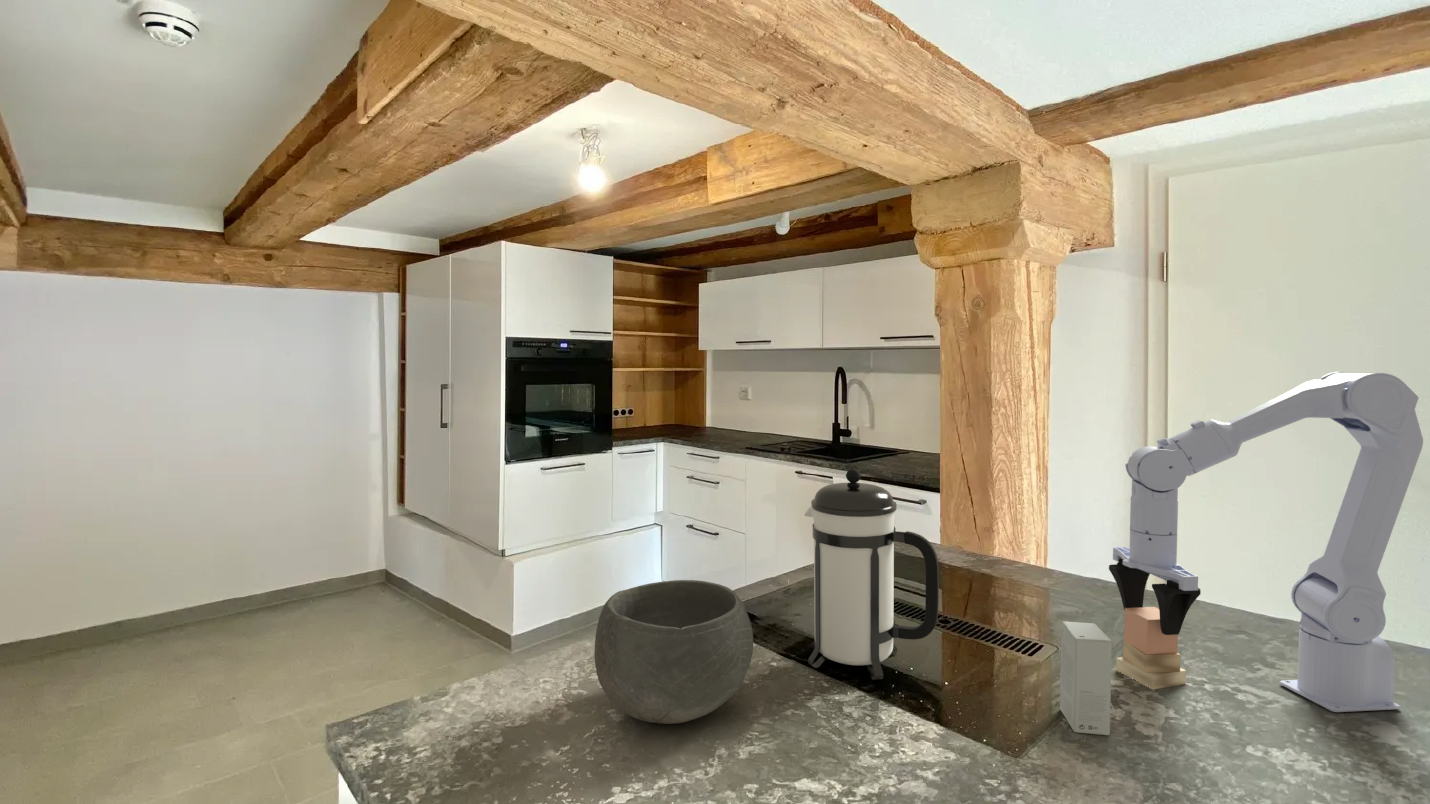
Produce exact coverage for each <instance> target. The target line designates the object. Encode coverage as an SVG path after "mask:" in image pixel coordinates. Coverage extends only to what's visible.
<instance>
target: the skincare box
mask: <svg viewBox="0 0 1430 804" xmlns="http://www.w3.org/2000/svg"><path fill="white" fill-rule="evenodd" d="M1060 643H1061V645H1060V646H1061V648H1060V649H1061V650H1060V651H1061V652H1060V689H1059V690H1060V691H1059V692H1060V695H1059V696H1060V697H1059V709H1060V712H1061V713H1062V715H1063V716H1064V717H1065V719H1066V720H1067V722H1068V725H1070V727H1071V729H1072V732H1074V733H1078V734H1079V733H1080V734H1091V735H1103V736H1110V734H1111V700H1112V698H1111V696H1112V693H1111V692H1112V659H1113V658H1112V654H1113V653H1112V652H1113V651H1112V650H1113V649H1112V648H1113V644H1112V643H1113V641H1112V640H1111V639H1110V638H1109V636H1107V635H1106V633H1105V632H1104V631H1102V629H1100V627H1099V626H1098V625H1096V623H1093V622H1092V623H1091V622H1079V621H1078V622H1077V621H1066V620H1065V621H1064V620H1063V621H1062V622H1061V642H1060Z"/></svg>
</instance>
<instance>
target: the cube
mask: <svg viewBox="0 0 1430 804" xmlns="http://www.w3.org/2000/svg"><path fill="white" fill-rule="evenodd" d="M1123 634H1124V636H1123V639H1124V640H1123V642H1124V641H1125V642H1126V643H1128V644H1130V645H1132V646H1133V647H1135V648H1137V649H1138V650H1140V651H1142V652H1143V653H1145V654H1168V653H1178V641H1179V639H1178V638H1179V635H1165V634H1163V633H1162V631H1161V627H1160V612H1159V607H1155V606H1147V607H1146V606H1145V607H1144V606H1143V607H1140V608H1125V611H1124V630H1123Z"/></svg>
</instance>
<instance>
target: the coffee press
mask: <svg viewBox="0 0 1430 804" xmlns="http://www.w3.org/2000/svg"><path fill="white" fill-rule="evenodd" d="M845 477H846V479H847V481H848V482H838V483H836V482H835V483H832V484H827V485H825V486H823V487H821V488H820V489H818V491H817V492H816V493H815V496H814V498H813V499H812V500H811V502H810V503H811V504H810V505H811V506H810V507H808V509H807V510H806V511H805V513H804V516H805V517H808V518H810V517H811V518H813V524H812V539H813V550H814V551H813V553H814V554H813V563H814V564H813V567H814V569H813V572H814V573H813V574H814V575H813V578H814V579H813V580H814V581H813V583H814V586H813V589H814V590H813V591H814V592H813V593H814V595H813V600H814V604H813V607H814V608H813V609H814V613H813V615H814V617H813V618H814V621H813V622H814V649H813V651H812V652H811V654H810V655H809V657H808V659H807V660H808V664H809V665H810V666H811V667H812V668H814V669H819V668H820V667H821V666H822V665H823V663H824V662H826V661H827V660H830V661H833V662H836V663H839V664H843V665H848V666H849V665H850V666H865V667H866V668H867V671H868V673H869V676H870V678H871V681H872V680H873V681H876V680H877V681H878V680H882V679H883V678H884V671H883V669H882V665H881V663H882V662H883V661H885V660H887V659H888V658H889V656H895V655H896V654H897V653H898V648H897V646H896V644H895V643H894V639H903V640H920V639H924V638H926V637H927V636H929V635H930V634H932V631H934V629H935V627H936V625H937V623H938V622H937V621H938V618H939V617H938V616H939V601H940V600H939V599H940V597H939V596H940V594H939V592H940V590H939V589H940V587H939V585H940V584H939V583H940V580H939V579H940V578H939V576H940V575H939V574H940V573H939V562H938V561H939V560H938V556H937V552H936V549H935V548H934V546H933V545H932V544H931V542H930V541H929V540H928V539H927V538H926V537H924V536H922V535H921V534H919V533H917V532H913V531H907V530H906V531H896V527H895V525H894V524H895V522H894V521H895V518H894V517H895V513H896V511H897V507H898V506H897V503H896V501H895V500H894V499H893V496H892V493H890V492H889V491H888V490H887V489H886V488H884V487H882V486H879V485H876V484H872V483H865V482H859V481H860V479H861V477H862V475H861V472H860V471H859V470H858V469H857V468H851V469H848V470H847V471H846V474H845ZM895 542H896V543H903V544H905V545H910V546H913V547H914V548H916V549H917V550H919V552H920V553H921V554H922V557H923V559H924V564H925V606H924V607H925V611H924V620H923V621H922V622H921V624H919V625H917V626H906V625H905V626H904V625H900V624H896V621H895V619H894V612H895V611H894V609H895V608H894V603H895V602H894V599H895V598H894V597H895V596H894V593H895V592H894V587H895V584H894V579H895V577H894V576H895V575H894V574H895V573H894V571H895V567H894V566H895V565H894V564H895V563H894V562H895V560H894V559H895V552H894V551H895V549H894V548H895V547H894V545H895ZM819 653H820V654H821V656H820V657H818V656H819ZM817 657H818V659H817ZM816 659H817V660H816ZM815 660H816V661H815Z"/></svg>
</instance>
